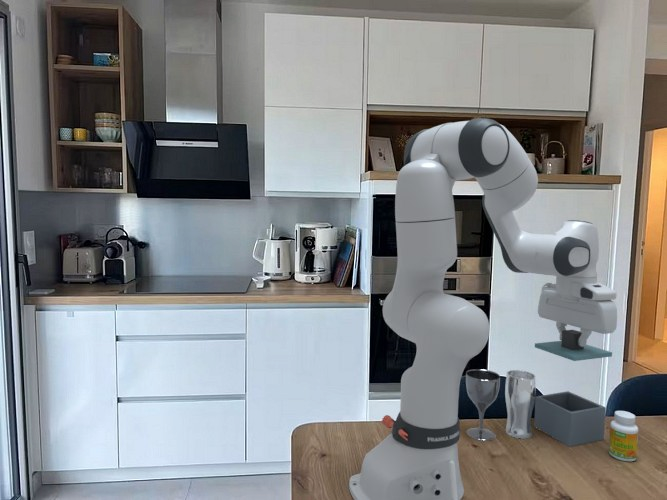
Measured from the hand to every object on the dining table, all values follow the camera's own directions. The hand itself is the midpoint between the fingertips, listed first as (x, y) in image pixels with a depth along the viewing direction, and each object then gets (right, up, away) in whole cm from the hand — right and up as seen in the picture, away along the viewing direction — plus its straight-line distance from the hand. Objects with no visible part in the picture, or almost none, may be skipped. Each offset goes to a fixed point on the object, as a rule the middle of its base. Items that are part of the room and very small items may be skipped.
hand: (572, 343), depth 116 cm
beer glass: (-13, -23, +1) cm, 26 cm away
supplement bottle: (+7, -24, -9) cm, 26 cm away
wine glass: (-22, -23, +1) cm, 32 cm away
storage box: (0, -23, +2) cm, 23 cm away
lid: (0, -2, 0) cm, 2 cm away
